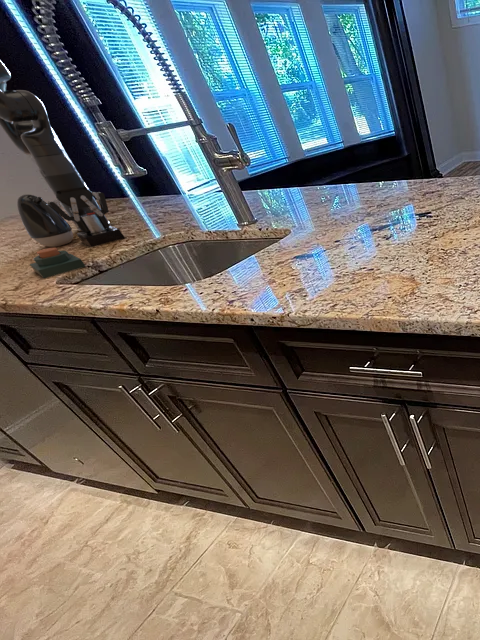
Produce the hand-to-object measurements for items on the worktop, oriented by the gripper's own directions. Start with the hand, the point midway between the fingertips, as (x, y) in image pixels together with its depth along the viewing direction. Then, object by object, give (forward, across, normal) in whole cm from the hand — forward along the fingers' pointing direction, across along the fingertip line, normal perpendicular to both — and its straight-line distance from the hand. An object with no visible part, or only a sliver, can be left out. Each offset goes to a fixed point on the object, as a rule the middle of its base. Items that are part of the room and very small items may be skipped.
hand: (97, 230), depth 135 cm
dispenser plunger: (0, +16, +23) cm, 28 cm away
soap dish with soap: (+3, +16, +23) cm, 28 cm away
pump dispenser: (+4, +9, -11) cm, 15 cm away
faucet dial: (0, 0, 0) cm, 0 cm away
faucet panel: (+3, 0, 0) cm, 3 cm away
